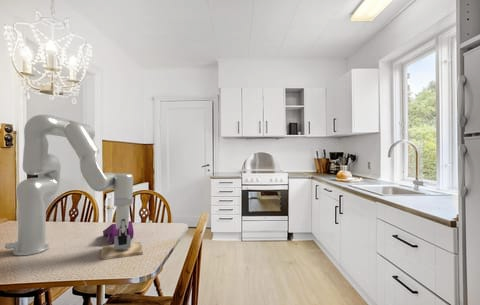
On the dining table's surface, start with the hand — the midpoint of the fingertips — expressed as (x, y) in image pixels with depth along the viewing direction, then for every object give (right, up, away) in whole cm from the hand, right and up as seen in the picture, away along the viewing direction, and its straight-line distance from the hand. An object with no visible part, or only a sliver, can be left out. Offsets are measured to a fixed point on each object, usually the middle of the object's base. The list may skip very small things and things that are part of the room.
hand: (122, 241), depth 117 cm
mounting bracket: (-11, -5, +18) cm, 22 cm away
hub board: (0, -4, 0) cm, 4 cm away
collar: (0, -2, 0) cm, 2 cm away
